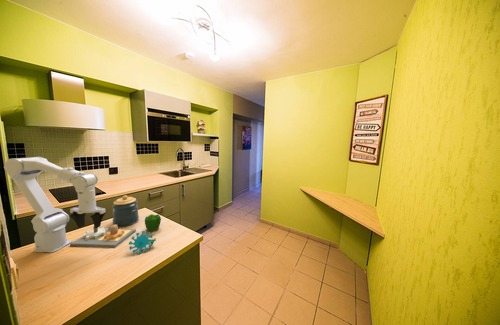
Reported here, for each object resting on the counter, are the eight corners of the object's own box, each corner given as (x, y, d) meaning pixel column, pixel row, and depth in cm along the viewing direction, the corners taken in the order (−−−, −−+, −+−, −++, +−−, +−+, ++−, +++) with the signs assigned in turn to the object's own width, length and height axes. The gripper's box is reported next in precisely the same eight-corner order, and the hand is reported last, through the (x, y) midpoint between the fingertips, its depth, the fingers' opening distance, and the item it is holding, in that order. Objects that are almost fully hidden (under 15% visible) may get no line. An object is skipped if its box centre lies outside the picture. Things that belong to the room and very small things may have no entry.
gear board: (70, 245, 77) (69, 234, 77) (97, 230, 91) (96, 220, 91) (115, 247, 78) (114, 236, 77) (135, 231, 91) (135, 221, 91)
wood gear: (99, 240, 80) (98, 229, 80) (113, 231, 89) (112, 221, 88) (115, 240, 80) (114, 230, 80) (127, 231, 88) (127, 222, 88)
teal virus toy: (125, 254, 71) (131, 231, 77) (127, 257, 75) (132, 234, 81) (154, 251, 76) (157, 229, 82) (154, 253, 80) (157, 233, 86)
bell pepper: (154, 224, 100) (154, 209, 99) (163, 227, 97) (163, 211, 96) (141, 230, 92) (140, 214, 91) (150, 234, 89) (150, 217, 88)
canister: (112, 221, 102) (110, 194, 99) (137, 215, 110) (135, 191, 108) (113, 229, 92) (111, 200, 90) (140, 222, 101) (139, 196, 99)
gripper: (61, 202, 70) (64, 231, 72) (94, 203, 70) (97, 232, 72) (78, 197, 77) (80, 223, 79) (108, 198, 77) (110, 224, 79)
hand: (89, 227), depth 76 cm, fingers open, 7 cm apart
